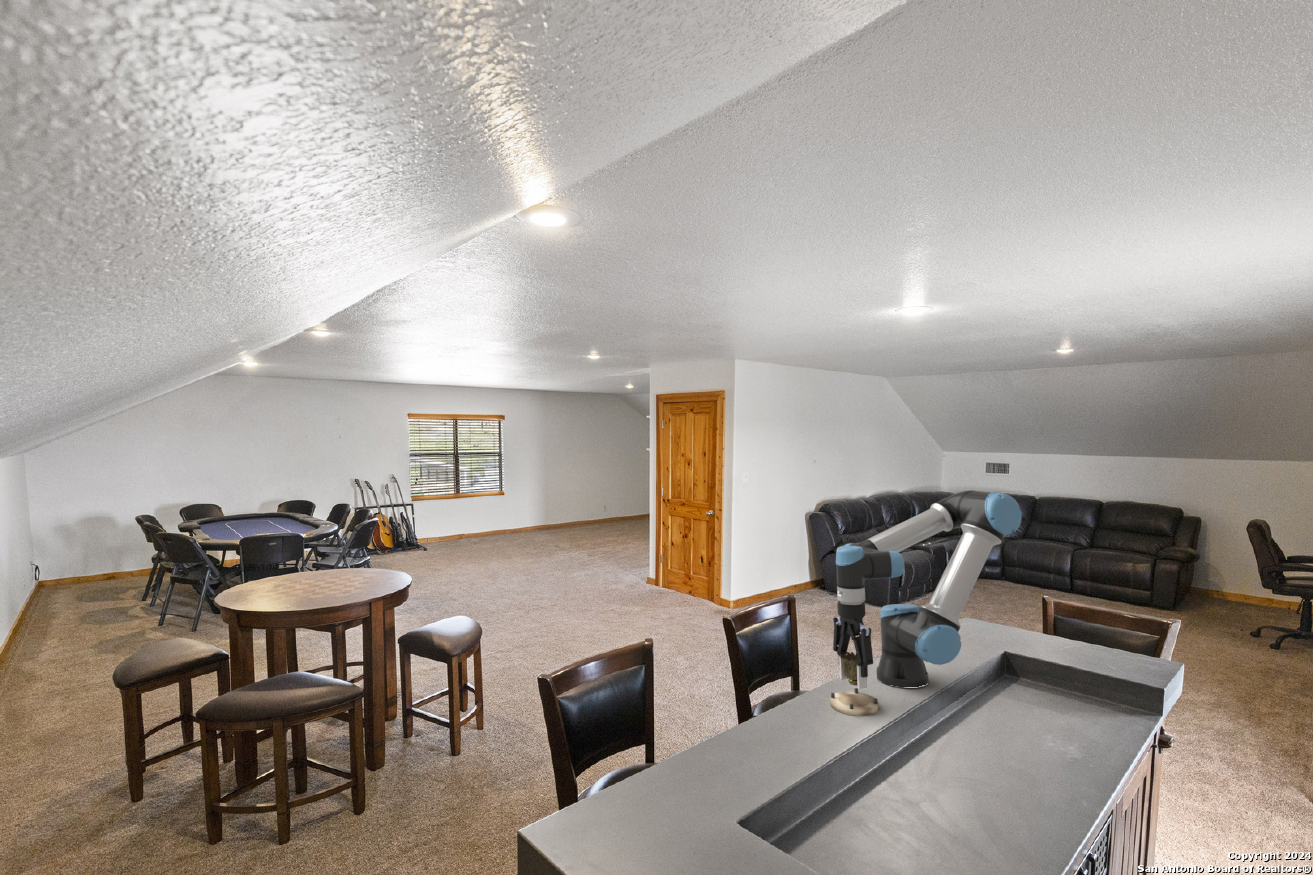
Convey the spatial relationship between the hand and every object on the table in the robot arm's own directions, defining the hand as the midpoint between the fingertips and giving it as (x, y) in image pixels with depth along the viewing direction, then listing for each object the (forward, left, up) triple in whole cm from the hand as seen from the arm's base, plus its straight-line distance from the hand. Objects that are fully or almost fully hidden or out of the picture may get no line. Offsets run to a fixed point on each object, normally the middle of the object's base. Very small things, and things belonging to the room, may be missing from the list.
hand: (853, 683), depth 177 cm
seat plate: (0, 0, -6) cm, 6 cm away
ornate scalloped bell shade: (0, +1, 0) cm, 1 cm away
